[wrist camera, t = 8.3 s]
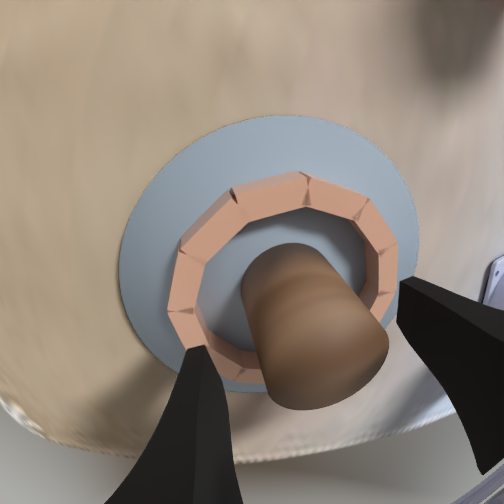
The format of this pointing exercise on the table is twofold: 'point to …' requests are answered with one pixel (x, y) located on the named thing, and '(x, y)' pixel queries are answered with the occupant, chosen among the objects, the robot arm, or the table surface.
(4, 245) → the table surface
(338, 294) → the brown rounded cylinder
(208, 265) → the ring dish
